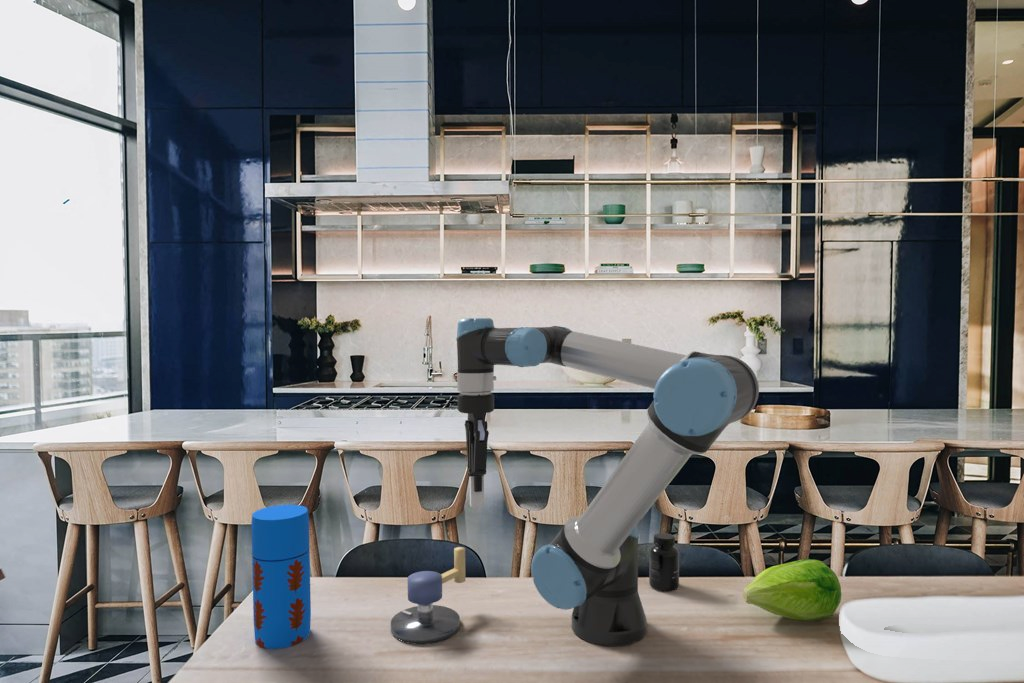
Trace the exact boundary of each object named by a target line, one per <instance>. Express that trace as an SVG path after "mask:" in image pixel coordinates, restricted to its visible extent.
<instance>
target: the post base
mask: <svg viewBox="0 0 1024 683" xmlns="http://www.w3.org/2000/svg"><path fill="white" fill-rule="evenodd" d="M460 618H461V617H460V614H459V613H458V612H457V611H456V610H455V609H452V608H450V607H447V606H444V605H443V606H442V605H437V604H434V603H431V604H417V605H415V606H411V607H409V608H406V609H403V610H400V611H399V612H397V613H396V614H394V616H393V617H392V619H391V620H390V633H391V635H392V634H393V635H392V636H393V637H394V636H395V637H396V638H397V639H396V638H395V637H394V638H395V639H396V640H398V639H400V640H402V641H401V642H403V641H404V643H406V642H409V643H408V644H411V643H418V644H417V645H426V644H425V643H429V644H435V643H439V642H443V641H445V640H447V639H449V638H451V637H453V636H454V635H456V634H457V633H456V632H458V631H459V630H460V626H461V622H460ZM458 629H459V630H458ZM455 633H456V634H455ZM400 640H399V641H400ZM420 643H421V644H420Z"/></svg>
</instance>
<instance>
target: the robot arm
mask: <svg viewBox="0 0 1024 683" xmlns="http://www.w3.org/2000/svg"><path fill="white" fill-rule="evenodd" d="M456 332H457V333H456V348H457V349H456V352H457V353H456V354H457V373H456V377H457V378H456V379H457V380H456V382H457V383H456V386H457V391H458V392H459V393H458V395H457V411H458V412H459V413H462V414H467V420H466V419H465V422H464V428H465V440H466V441H465V442H466V444H465V445H466V462H467V464H466V467H467V469H468V473H467V476H468V478H469V506H470V508H481V507H484V506H485V484H484V483H485V475H487V462H488V461H487V458H488V457H487V456H488V440H489V434H490V432H489V430H488V421H487V420H485V419H486V418H485V414H489V413H492V412H494V410H495V394H494V393H492V392H493V391H494V389H495V383H494V381H497V376H496V375H495V373H494V370H495V366H508V367H511V366H512V367H518V368H528V367H529V368H530V367H537V366H539V365H540V364H554V365H557V366H561V367H566V368H570V369H575V370H578V371H582V372H586V373H591V374H595V375H599V376H601V377H606V378H610V379H614V380H616V381H617V380H618V381H621V382H626V383H630V384H634V385H637V386H642V387H644V388H650V389H653V400H652V402H651V403H650V404H649V406H648V408H647V409H646V415H647V421H648V423H647V425H646V426H645V427H644V429H643V430H642V432H641V433H640V434H639V436H638V437H637V439H636V440H635V441H634V443H633V444H632V445H631V447H630V448H629V450H628V451H627V452H626V454H625V455H624V456H623V458H622V459H621V460H620V462H619V463H618V465H617V466H616V468H615V469H614V471H612V473H611V474H610V475H609V477H608V478H607V480H606V481H605V483H603V485H602V487H601V488H600V490H599V491H598V493H596V495H595V496H594V498H593V500H591V502H590V504H589V505H588V506H587V508H586V509H585V510H584V512H583V513H582V514H581V515H580V516H574V517H571V518H569V519H568V520H567V521H566V522H565V524H564V525H563V526H562V528H561V529H560V530H559V532H558V534H557V535H556V536H555V538H554V539H553V540H552V541H551V542H550V543H549V544H545V545H542V546H541V547H540V548H539V549H538V550H537V551H536V552H535V553H534V555H533V557H532V560H531V565H530V570H531V571H530V572H531V575H532V577H533V578H532V582H533V584H534V586H535V588H536V590H537V592H538V593H539V595H540V596H541V597H542V599H543V600H544V601H545V602H546V603H548V604H549V605H551V606H552V607H554V608H556V609H560V610H563V611H565V610H566V611H567V610H571V609H573V610H572V613H571V629H572V631H573V633H574V634H575V635H576V636H577V637H579V638H580V639H582V640H583V641H587V642H589V643H593V644H596V645H602V646H609V647H611V646H612V647H613V646H616V647H617V646H627V645H631V644H635V643H636V642H639V641H640V640H643V639H644V637H645V636H646V634H647V633H648V632H647V631H648V630H647V629H648V628H647V625H648V624H647V623H648V622H647V621H648V620H647V616H646V613H645V609H644V606H643V604H642V600H641V597H640V595H639V538H640V537H639V534H638V533H639V531H638V525H639V523H640V522H641V521H642V520H643V518H644V517H645V516H646V514H647V513H648V512H649V510H650V509H651V507H652V506H653V505H654V504H655V503H656V501H657V500H658V499H659V497H660V496H661V495H662V494H663V492H664V491H665V490H666V488H668V485H669V484H670V483H671V482H672V481H673V479H674V478H675V477H676V476H677V475H678V473H679V472H680V471H681V469H682V468H683V467H684V465H685V464H686V463H687V462H688V460H689V459H690V457H691V456H692V455H703V454H706V453H707V452H708V450H709V449H710V448H711V447H712V445H713V444H714V443H715V442H716V441H717V439H718V438H719V437H720V435H721V434H722V432H723V431H724V430H725V429H726V427H728V426H729V425H730V424H732V423H735V422H738V421H740V420H741V419H743V418H745V417H746V416H748V415H749V414H750V412H752V410H753V409H754V408H755V406H756V404H757V401H758V399H759V393H760V386H759V385H760V384H759V380H758V377H757V375H756V373H755V372H754V371H753V368H752V367H750V366H749V365H748V364H747V363H746V362H745V361H743V360H742V359H740V358H738V357H735V356H732V355H728V354H727V355H726V354H712V353H704V352H700V351H691V352H689V353H688V354H681V353H677V352H672V351H669V350H663V349H657V348H654V347H648V346H644V345H639V344H634V343H630V342H627V341H626V342H625V341H621V340H616V339H612V338H611V339H610V338H606V337H601V336H597V335H592V334H589V333H582V332H579V331H573V330H571V329H570V328H568V327H564V326H560V325H559V326H558V325H552V326H541V327H535V326H534V327H526V326H525V327H495V325H494V320H493V319H492V318H490V317H489V318H488V317H485V318H484V317H482V318H481V317H479V318H478V317H476V318H475V317H473V318H472V317H471V318H469V317H468V318H467V317H466V318H460V319H459V320H458V322H457V331H456Z"/></svg>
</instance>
